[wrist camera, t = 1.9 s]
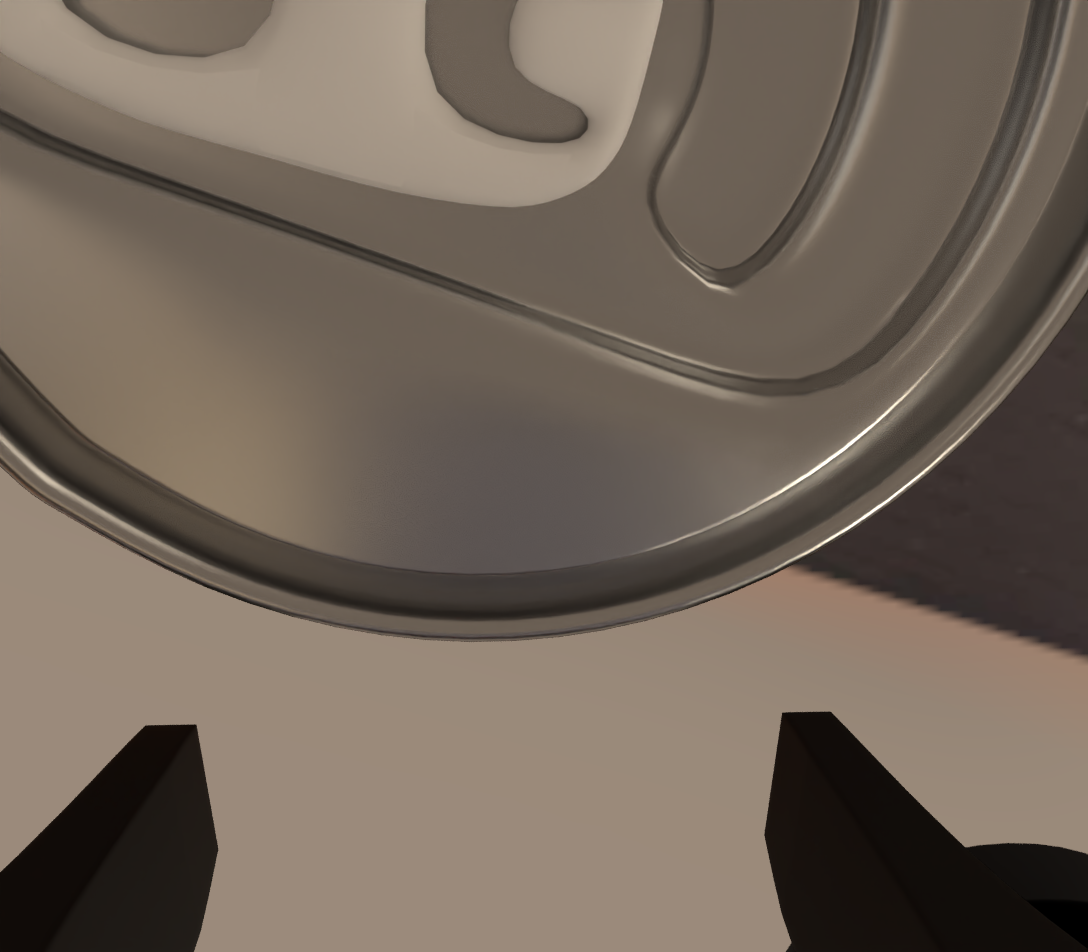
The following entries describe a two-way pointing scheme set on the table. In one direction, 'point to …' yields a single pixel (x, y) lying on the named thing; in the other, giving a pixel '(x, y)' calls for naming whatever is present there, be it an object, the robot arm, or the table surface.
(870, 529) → the table surface
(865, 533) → the table surface
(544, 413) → the beverage can
